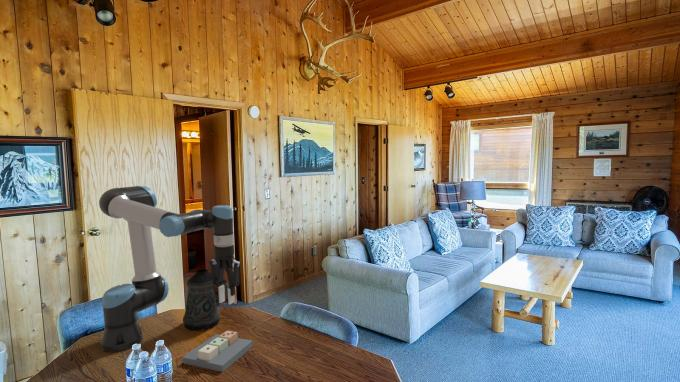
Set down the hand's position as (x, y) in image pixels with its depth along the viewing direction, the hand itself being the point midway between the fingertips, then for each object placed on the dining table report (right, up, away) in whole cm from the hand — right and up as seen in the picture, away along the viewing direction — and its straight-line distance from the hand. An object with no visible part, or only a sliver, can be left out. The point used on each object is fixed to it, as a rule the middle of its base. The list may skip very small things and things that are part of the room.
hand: (226, 302), depth 147 cm
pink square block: (0, -17, +1) cm, 17 cm away
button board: (-2, -19, -4) cm, 20 cm away
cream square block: (-4, -18, -10) cm, 21 cm away
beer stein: (-18, -17, +25) cm, 35 cm away
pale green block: (-2, -17, -4) cm, 18 cm away
